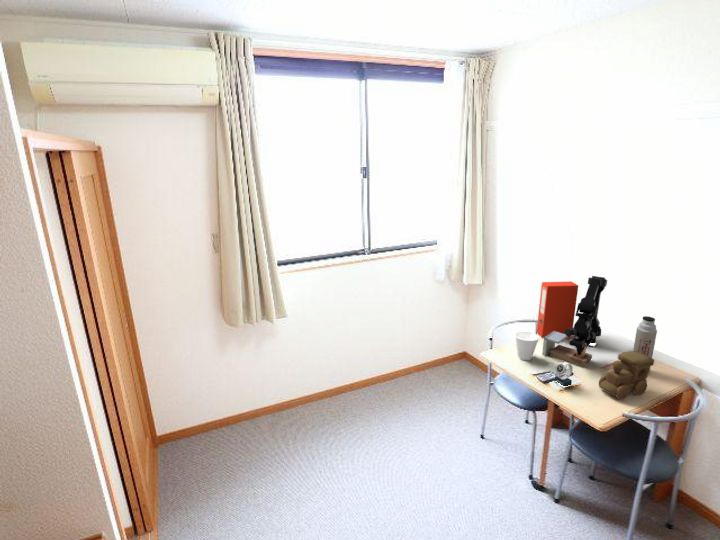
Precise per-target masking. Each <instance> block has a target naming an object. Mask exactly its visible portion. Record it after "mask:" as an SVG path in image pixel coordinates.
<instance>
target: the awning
mask: <svg viewBox="0 0 720 540" xmlns="http://www.w3.org/2000/svg"><path fill="white" fill-rule="evenodd" d="M567 338H569V337H568V336H566V335H565V334H562V333H559V332H556V331H553V332H552V333H550V334H549V335H547V336H546V337H544V338H543V345H542V353H541V355H542V356H544V357H546V356H547V355H548V354H550V352H551V350H552V349H553V348H555V347H556V344H557V345H560V343H562V342H563V341H565V339H567Z"/></svg>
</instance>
